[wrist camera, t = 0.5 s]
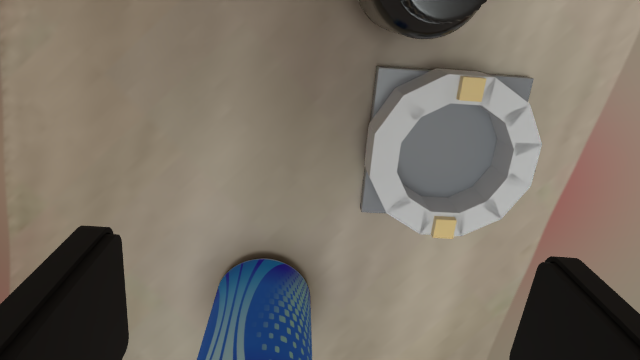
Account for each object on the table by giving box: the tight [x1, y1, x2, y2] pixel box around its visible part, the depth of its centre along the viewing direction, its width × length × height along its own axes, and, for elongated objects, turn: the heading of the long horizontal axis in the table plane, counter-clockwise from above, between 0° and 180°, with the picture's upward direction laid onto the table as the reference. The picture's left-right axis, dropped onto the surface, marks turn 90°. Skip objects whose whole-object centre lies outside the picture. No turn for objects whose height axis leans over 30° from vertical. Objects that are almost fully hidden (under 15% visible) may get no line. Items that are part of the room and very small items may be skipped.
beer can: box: [197, 258, 312, 360], centre depth 34 cm, size 8×8×16 cm
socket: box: [360, 66, 542, 239], centre depth 34 cm, size 12×12×5 cm
